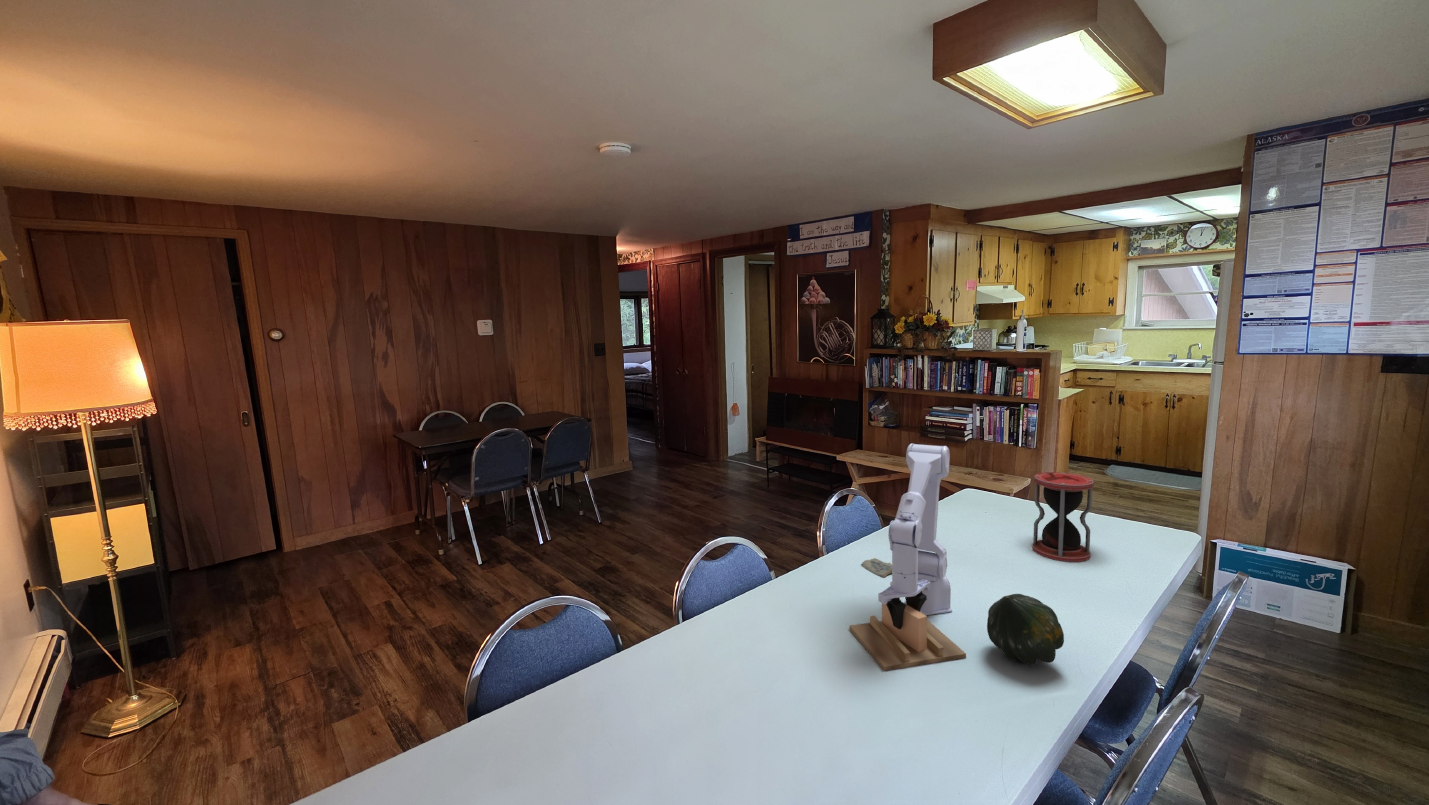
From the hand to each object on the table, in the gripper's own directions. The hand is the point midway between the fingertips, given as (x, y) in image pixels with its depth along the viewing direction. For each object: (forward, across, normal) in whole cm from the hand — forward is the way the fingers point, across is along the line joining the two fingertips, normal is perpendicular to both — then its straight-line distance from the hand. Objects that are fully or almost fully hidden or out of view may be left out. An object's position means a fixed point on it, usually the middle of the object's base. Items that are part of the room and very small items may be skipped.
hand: (904, 624), depth 133 cm
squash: (+5, -18, +17) cm, 25 cm away
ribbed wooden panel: (+5, 0, 0) cm, 5 cm away
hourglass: (+5, -82, -14) cm, 83 cm away
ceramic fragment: (+4, -30, -34) cm, 45 cm away
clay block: (+4, 0, 0) cm, 4 cm away
